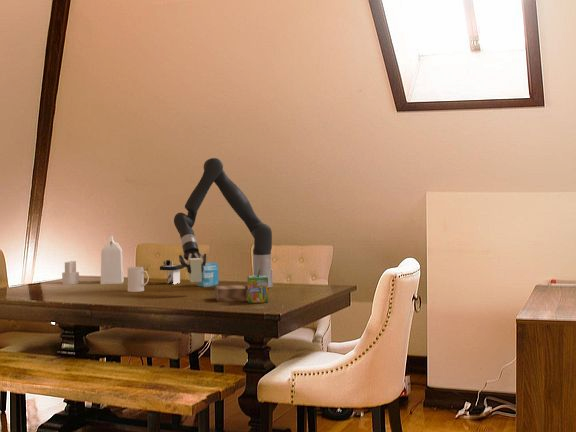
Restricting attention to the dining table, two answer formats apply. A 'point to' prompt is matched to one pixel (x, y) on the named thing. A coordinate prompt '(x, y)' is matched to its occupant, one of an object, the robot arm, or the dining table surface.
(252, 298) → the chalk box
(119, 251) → the milk
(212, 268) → the data package
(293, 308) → the dining table surface
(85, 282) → the dining table surface
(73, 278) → the cylinder with rectangular tab
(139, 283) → the mug
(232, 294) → the walnut block
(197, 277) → the tea tin
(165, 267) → the black-topped pedestal
